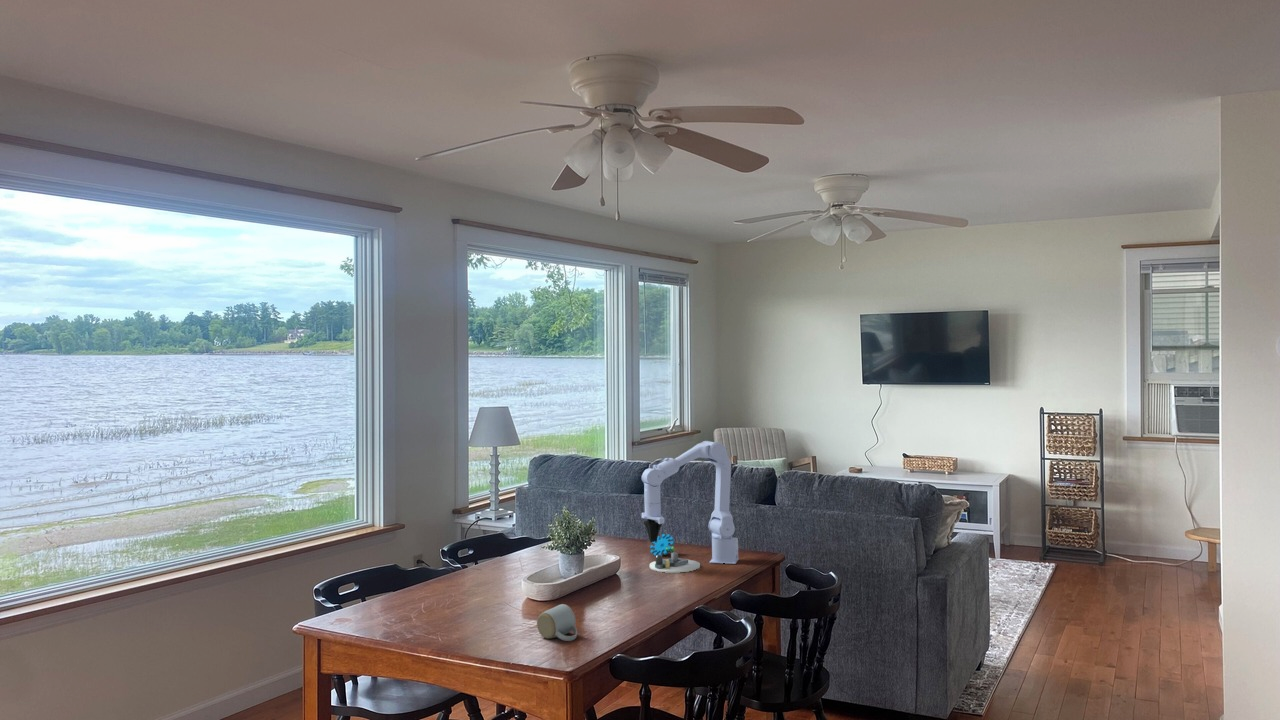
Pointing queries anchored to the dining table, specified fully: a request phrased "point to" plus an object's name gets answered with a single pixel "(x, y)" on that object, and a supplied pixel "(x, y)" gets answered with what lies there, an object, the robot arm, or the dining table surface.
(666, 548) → the gear
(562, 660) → the dining table surface
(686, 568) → the base plate
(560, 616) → the ceramic mug
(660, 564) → the crank handle
